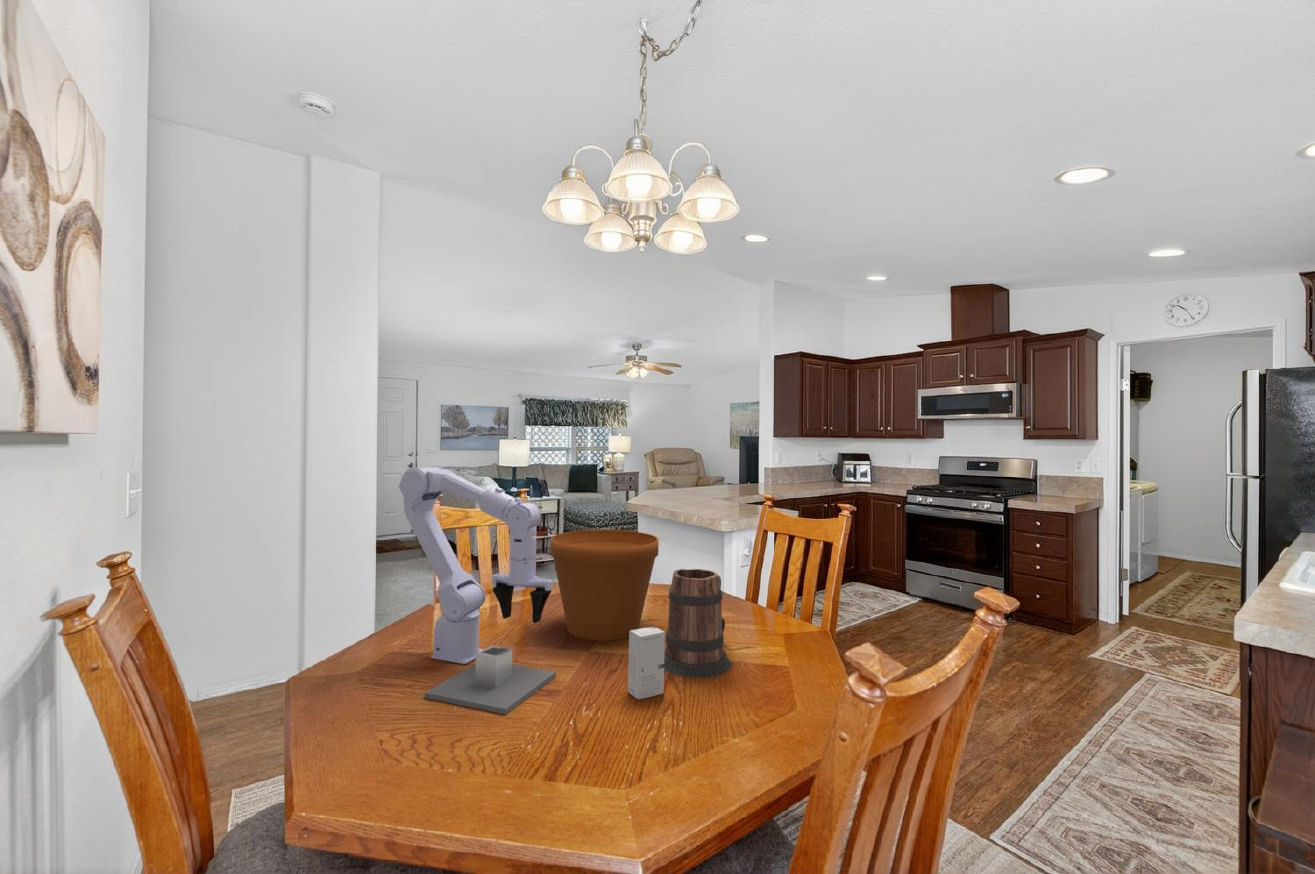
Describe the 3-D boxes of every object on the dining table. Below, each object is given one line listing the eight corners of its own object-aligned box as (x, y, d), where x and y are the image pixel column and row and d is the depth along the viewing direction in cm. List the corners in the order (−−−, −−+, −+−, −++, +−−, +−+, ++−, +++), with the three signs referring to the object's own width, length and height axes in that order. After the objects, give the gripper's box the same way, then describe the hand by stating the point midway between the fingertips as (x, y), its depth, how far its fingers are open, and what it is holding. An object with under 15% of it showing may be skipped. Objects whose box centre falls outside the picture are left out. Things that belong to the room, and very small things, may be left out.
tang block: (424, 697, 111) (424, 676, 111) (482, 663, 128) (483, 645, 128) (505, 714, 105) (506, 692, 105) (555, 676, 122) (556, 657, 122)
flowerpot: (676, 624, 158) (678, 536, 158) (614, 656, 134) (616, 553, 134) (594, 606, 173) (596, 526, 173) (525, 632, 149) (527, 539, 149)
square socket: (475, 683, 116) (475, 653, 116) (492, 674, 120) (492, 645, 120) (495, 688, 114) (496, 657, 114) (511, 679, 118) (512, 649, 118)
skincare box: (638, 700, 112) (639, 637, 112) (626, 692, 116) (627, 630, 116) (665, 693, 115) (666, 631, 115) (652, 685, 119) (654, 625, 119)
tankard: (714, 684, 120) (715, 586, 120) (642, 667, 128) (644, 575, 128) (753, 649, 141) (754, 565, 141) (689, 636, 149) (690, 557, 149)
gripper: (560, 557, 131) (559, 618, 131) (505, 551, 136) (504, 610, 136) (544, 563, 124) (543, 627, 124) (486, 557, 129) (485, 619, 129)
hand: (521, 619), depth 130 cm, fingers open, 7 cm apart
